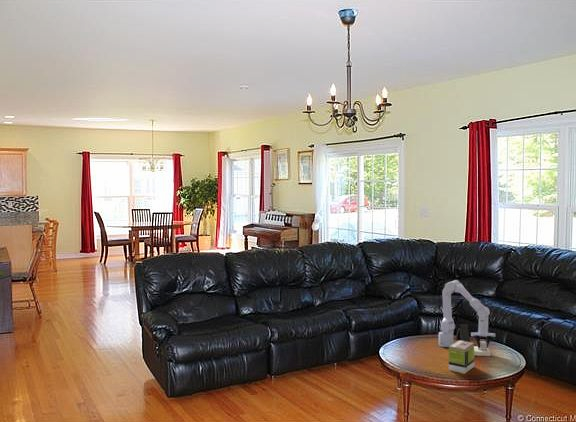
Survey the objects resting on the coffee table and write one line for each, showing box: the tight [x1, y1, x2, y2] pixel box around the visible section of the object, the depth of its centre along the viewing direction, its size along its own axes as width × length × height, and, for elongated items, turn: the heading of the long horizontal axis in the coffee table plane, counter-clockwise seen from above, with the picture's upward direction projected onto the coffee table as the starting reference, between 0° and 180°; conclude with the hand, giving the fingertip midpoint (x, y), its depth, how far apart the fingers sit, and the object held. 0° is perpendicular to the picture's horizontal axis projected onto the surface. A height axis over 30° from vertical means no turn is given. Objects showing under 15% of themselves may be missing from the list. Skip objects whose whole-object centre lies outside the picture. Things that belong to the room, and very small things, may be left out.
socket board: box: [474, 345, 492, 357], centre depth 343 cm, size 16×11×3 cm
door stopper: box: [455, 323, 471, 342], centre depth 367 cm, size 9×6×12 cm, turn 14°
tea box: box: [448, 340, 475, 374], centre depth 315 cm, size 15×10×15 cm
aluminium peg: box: [479, 340, 487, 351], centre depth 343 cm, size 4×4×6 cm
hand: (482, 347), depth 343 cm, fingers open, 4 cm apart
